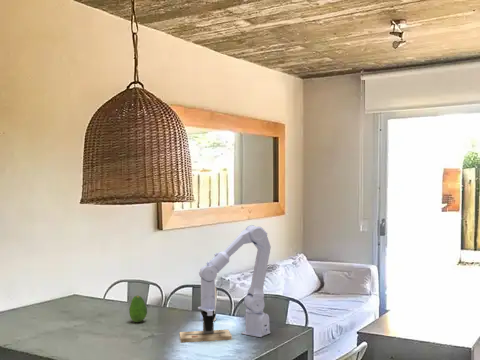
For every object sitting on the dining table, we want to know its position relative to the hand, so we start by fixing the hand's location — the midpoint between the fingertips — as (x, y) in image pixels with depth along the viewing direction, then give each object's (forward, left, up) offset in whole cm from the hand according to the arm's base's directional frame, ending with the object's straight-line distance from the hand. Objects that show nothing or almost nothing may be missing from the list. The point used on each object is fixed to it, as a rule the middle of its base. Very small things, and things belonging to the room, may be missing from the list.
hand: (208, 329), depth 219 cm
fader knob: (0, 0, -1) cm, 1 cm away
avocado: (+43, -3, -3) cm, 43 cm away
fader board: (+1, +1, -3) cm, 3 cm away
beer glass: (+18, -23, -3) cm, 29 cm away
